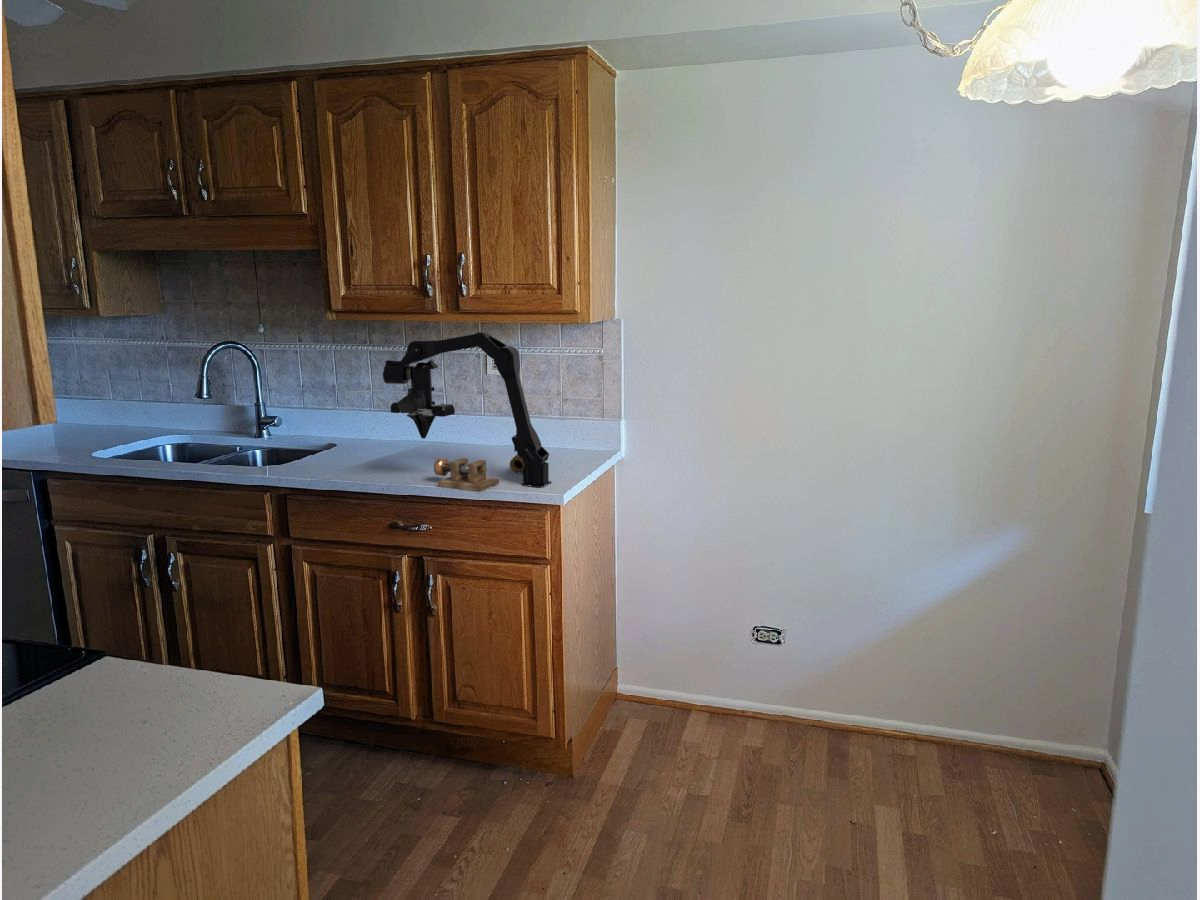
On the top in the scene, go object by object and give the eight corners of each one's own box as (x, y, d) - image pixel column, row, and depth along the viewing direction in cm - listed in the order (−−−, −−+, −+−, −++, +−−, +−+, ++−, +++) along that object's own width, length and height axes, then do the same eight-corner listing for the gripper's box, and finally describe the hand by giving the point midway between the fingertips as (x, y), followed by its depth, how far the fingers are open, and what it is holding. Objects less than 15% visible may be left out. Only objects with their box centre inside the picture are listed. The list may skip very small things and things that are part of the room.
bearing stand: (499, 484, 245) (498, 460, 243) (480, 491, 236) (479, 467, 234) (457, 479, 250) (457, 455, 249) (437, 486, 242) (437, 462, 240)
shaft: (480, 477, 244) (480, 460, 243) (471, 481, 239) (470, 463, 238) (444, 473, 249) (443, 456, 248) (434, 476, 245) (433, 459, 244)
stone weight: (525, 464, 271) (525, 443, 270) (546, 465, 269) (546, 444, 268) (508, 474, 257) (507, 452, 256) (530, 475, 255) (529, 454, 254)
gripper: (376, 385, 240) (379, 440, 243) (431, 389, 233) (433, 445, 236) (401, 381, 250) (403, 434, 253) (454, 384, 243) (456, 438, 246)
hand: (423, 438), depth 247 cm, fingers closed
